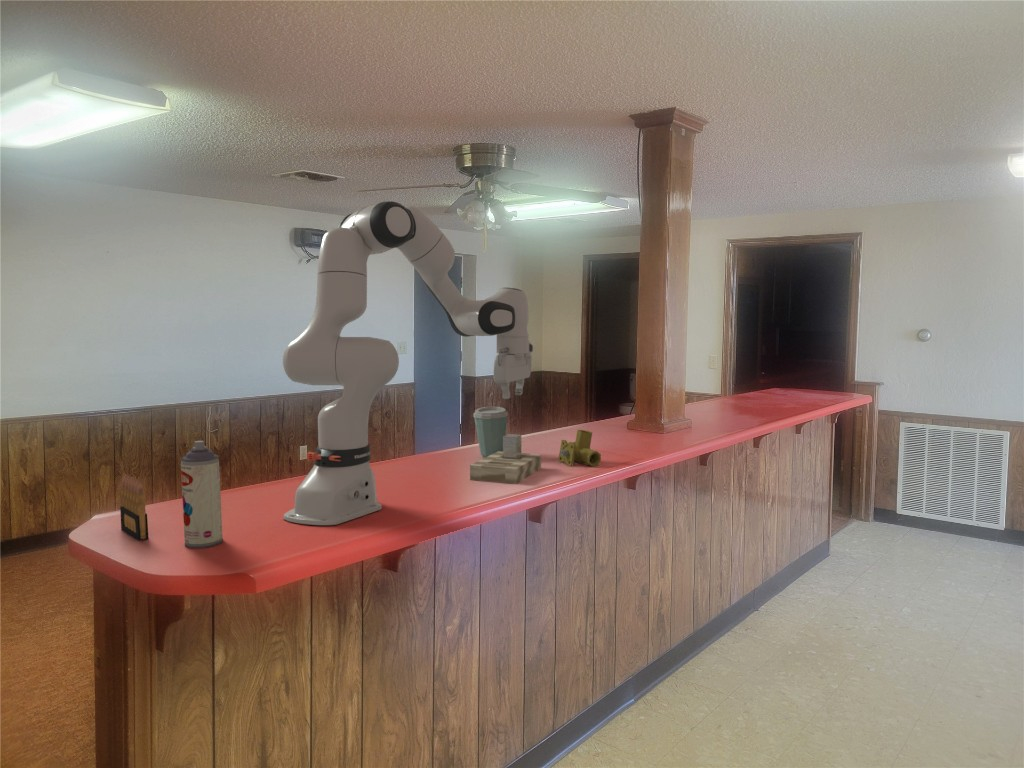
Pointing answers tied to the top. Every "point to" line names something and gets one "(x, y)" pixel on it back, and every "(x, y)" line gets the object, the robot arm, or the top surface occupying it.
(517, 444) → the square bit
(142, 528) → the ammunition clip
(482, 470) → the tan flat slatted block
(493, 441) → the disposable coffee cup
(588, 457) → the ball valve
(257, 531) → the top surface
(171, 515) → the top surface
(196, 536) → the aerosol can
